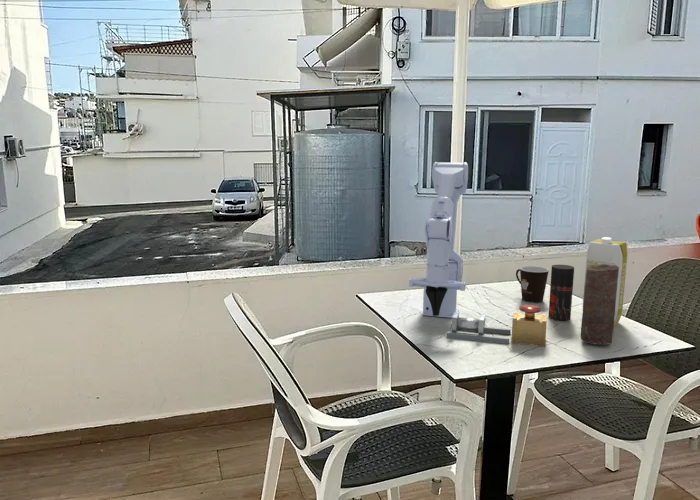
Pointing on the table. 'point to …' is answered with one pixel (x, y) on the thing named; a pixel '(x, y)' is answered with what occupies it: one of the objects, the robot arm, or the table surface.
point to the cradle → (483, 337)
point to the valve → (529, 326)
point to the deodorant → (561, 292)
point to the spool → (468, 324)
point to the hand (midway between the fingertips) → (436, 314)
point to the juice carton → (610, 255)
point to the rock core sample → (599, 304)
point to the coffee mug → (533, 283)
